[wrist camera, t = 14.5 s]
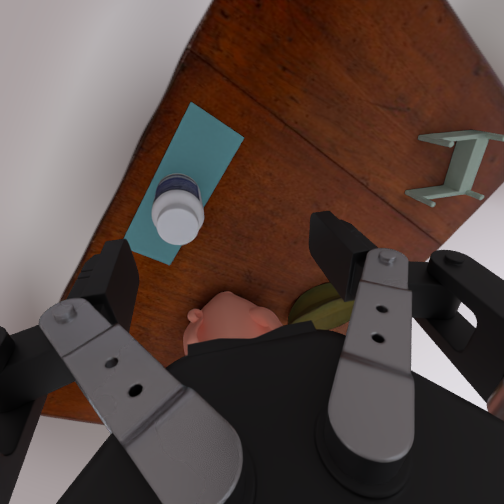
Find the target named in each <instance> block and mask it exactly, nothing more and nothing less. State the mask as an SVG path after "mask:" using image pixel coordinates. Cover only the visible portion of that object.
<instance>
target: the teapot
mask: <svg viewBox="0 0 504 504" xmlns="http://www.w3.org/2000/svg"><path fill="white" fill-rule="evenodd" d="M187 317H188V319H189V321H191V322H190V323H189V325H188V326H187V328H186V330H185V332H184V335H183V344H184V351H185V356H186V355H188V345H187V344H193V343H198V342H203V341H208V340H213V339H218V338H248V339H250V338H255V337H258V336H260V335H262V334H265V333H267V332H269V331H272V330H274V329H276V328H278V327H281V326H284V325H282V323H281V322H280V321H279V319H278V317H277V316H276V315H275V314H274V313H273V312H272V311H271V310H269V309H267V308H265V307H258V306H256V305H255V304H253V303H252V302H250V301H248V300H246V299H244V298H241V297H239V296H236V295H234V294H233V293H232V292H229V291H226V292H221V293H219V294H217V295H216V296H215V297H214V298H213V299H212V300H211V301H209V302H208V303H207V304H206V305H205V306H204V307H203V308H202V309H201V310H199V309H192V310H190V311H189V313H188V315H187Z"/></svg>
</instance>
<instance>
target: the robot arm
mask: <svg viewBox="0 0 504 504" xmlns="http://www.w3.org/2000/svg"><path fill="white" fill-rule="evenodd" d="M309 250H310V253H311V256H312V257H313V259H314V260H315V261H316V263H317V264H318V266H319V267H320V268H321V270H322V271H323V273H324V274H325V275H326V277H327V278H328V280H329V281H330V282H331V284H332V285H333V287H334V288H335V289H336V291H337V292H338V294H339V295H340V297H341V298H342V299H343V301H344V302H348V301H353V300H355V301H354V305H353V309H352V313H351V317H350V321H349V325H348V329H347V333H346V336H345V335H343V334H340V333H337V332H334V331H329V330H322V329H316V328H315V326H314V324H313V322H312V320H309V321H304V322H299V323H294V324H289V325H284V326H281V327H278V328H276V329H274V330H272V331H269V332H267V333H265V334H262V335H260V336H258V337H255V338H250V339H248V338H218V339H213V340H208V341H203V342H198V343H193V344H187V345H188V355H186V356H184V357H182V358H180V359H178V360H177V361H175V362H173V363H172V364H170V365H169V366H168V367H166V368H164V367H163V366H162V365H161V364H160V363H159V362H158V361H157V360H156V359H155V358H154V357H153V356H152V355H151V354H150V353H149V352H148V351H147V350H146V349H145V348H144V347H143V346H142V345H141V344H139V343H138V342H137V341H136V340H135V339H134V338H133V337H132V336H131V335H130V334H129V329H130V324H131V320H132V315H133V310H134V305H135V300H136V296H137V291H138V286H139V274H138V269H137V266H136V263H135V260H134V257H133V254H132V251H131V248H130V245H129V243H128V241H127V239H119V240H112V241H106V242H105V245H104V247H103V249H102V251H101V253H100V254H97V255H94V256H93V257H92V258H90V259H89V260H88V261H87V262H86V263H85V264H84V266H83V268H82V270H81V273H80V274H79V276H78V280H76V282H75V284H74V286H73V288H72V290H71V292H70V293H69V295H68V297H67V299H66V300H64V301H61V302H59V303H57V304H55V305H53V306H52V307H50V308H49V309H48V310H46V311H45V312H44V314H43V315H42V316H41V317H40V319H39V325H37V326H35V327H32V328H29V329H26V330H23V331H21V332H18V333H15V334H12V335H9V334H8V332H6V330H5V328H3V327H1V326H0V504H9V501H10V498H11V496H12V492H13V490H14V487H15V484H16V481H17V479H18V476H19V473H20V470H21V468H22V465H23V462H24V459H25V456H26V453H27V450H28V448H29V445H30V442H31V439H32V437H33V433H34V431H35V428H36V425H37V423H38V420H39V417H40V414H41V411H42V409H43V406H44V403H45V400H46V397H47V395H48V393H50V392H52V391H55V390H57V389H59V388H61V387H63V386H65V385H68V384H70V383H72V382H74V381H75V382H76V383H77V385H78V386H79V388H80V389H81V391H82V392H83V394H84V395H85V396H86V398H87V399H88V401H89V402H90V404H91V405H92V407H93V408H94V410H95V411H96V413H97V414H98V416H99V417H100V419H101V420H102V422H103V423H104V425H105V426H106V428H107V429H108V431H109V432H110V434H111V435H110V436H109V437H108V439H107V440H106V441H105V442H104V443H103V445H102V446H101V447H100V448H99V450H98V451H97V452H96V454H95V455H94V456H93V457H92V459H91V460H90V461H89V463H88V464H87V465H86V466H85V468H84V469H83V470H82V471H81V473H80V474H79V475H78V476H77V478H76V479H75V480H74V482H73V483H72V484H71V485H70V486H69V488H68V489H67V490H66V492H65V493H64V494H63V495H62V497H61V498H60V499H59V500H58V502H57V503H56V504H504V280H502V279H501V278H500V277H498V276H497V275H495V274H494V273H492V272H491V271H490V270H488V269H487V268H485V267H484V266H482V265H481V264H479V263H478V262H476V261H475V260H474V259H472V258H471V257H469V256H467V255H465V254H462V253H460V252H456V251H451V250H438V251H435V252H433V253H432V254H431V257H430V260H429V262H410V261H408V259H407V257H406V256H405V255H404V254H402V253H400V252H398V251H396V250H393V249H388V248H378V247H377V246H375V245H374V244H373V243H372V242H371V241H370V240H369V239H368V238H366V237H365V236H364V235H363V234H362V233H361V232H360V231H358V230H357V229H356V228H355V227H354V226H353V225H352V224H350V223H348V222H346V221H343V220H339V219H338V218H337V217H336V216H334V215H333V214H332V213H331V212H330V211H323V212H316V213H312V214H311V218H310V232H309ZM461 302H462V303H463V304H465V305H466V306H467V307H468V308H469V309H470V310H471V311H472V312H473V313H474V315H475V316H476V319H477V327H476V328H475V327H474V326H472V325H471V324H470V323H469V322H468V321H467V320H466V319H465V318H464V317H463V316H462V315H461V314H460V313H459V312H458V311H457V310H458V308H459V305H460V303H461ZM412 317H413V318H414V319H415V320H416V321H417V323H418V324H419V325H420V326H421V327H422V328H423V330H424V331H425V332H426V333H427V334H428V335H429V337H430V338H431V339H432V340H433V341H434V342H435V344H436V345H437V346H438V347H439V348H440V349H441V351H442V352H443V353H444V354H445V355H446V356H447V357H448V359H449V360H450V361H451V362H452V363H453V365H454V366H455V367H456V368H457V369H458V370H459V372H460V373H461V374H462V375H463V376H464V377H465V378H466V380H467V381H468V382H469V383H470V384H471V386H472V387H473V388H474V389H475V390H476V391H477V392H478V394H479V395H480V396H481V397H482V398H483V399H484V401H485V402H486V403H487V409H488V412H487V411H485V410H484V409H482V408H480V407H478V406H476V405H474V404H472V403H471V402H469V401H467V400H465V399H463V398H461V397H459V396H458V395H456V394H454V393H452V392H450V391H448V390H447V389H445V388H443V387H441V386H439V385H437V384H435V383H434V382H432V381H430V380H428V379H426V378H424V377H422V376H421V375H419V374H417V373H415V372H413V371H411V330H412V329H411V328H412Z"/></svg>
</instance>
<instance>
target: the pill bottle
mask: <svg viewBox="0 0 504 504" xmlns="http://www.w3.org/2000/svg"><path fill="white" fill-rule="evenodd" d="M152 220H153V223H154V225H155V226H156V228H157V231H158V234H159V235H160V237H161V238H162V239H163V240H164V241H166V242H167V243H170V244H173V245H184V244H187V243H189V242H191V241H192V240H193V239H194V238H195V237H196V235H197V233H198V230H199V229H200V228H201V226H202V224H203V220H204V209H203V204H202V198H201V193H200V189H199V187H198V185H197V183H196V182H195V181H194V180H193V179H192V178H191V177H189V176H187V175H185V174H180V173H174V174H170V175H167V176H166V177H164V178H163V179H162V180H161V181H160V182H159V184H158V186H157V189H156V193H155V197H154V201H153V206H152Z"/></svg>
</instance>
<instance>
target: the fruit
mask: <svg viewBox="0 0 504 504" xmlns="http://www.w3.org/2000/svg"><path fill="white" fill-rule="evenodd" d="M354 301H355V300H353V301H348V302H344V301H343V299H342V298H341V297H340V295H339V294H338V292H337V291H336V289H335V288H334V287H333V285H332V284H331V283H326V284H322V285H319V286H316V287H314V288H312V289H310V290H308V291H307V292H305V293H304V294H302V295H301V296H300V297H299V299H298V300H297V301H296V302H295V304H294V305H293V307H292V309H291V311H290V314H289V316H288V325H289V324H294V323H299V322H304V321H309V320H312V322H313V324H314V326H315V328H316V329H322V330H330V329H333V328H336V327H338V326H341V325H343V324H345V323H346V322H348V321H350V317H351V313H352V309H353V305H354Z"/></svg>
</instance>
